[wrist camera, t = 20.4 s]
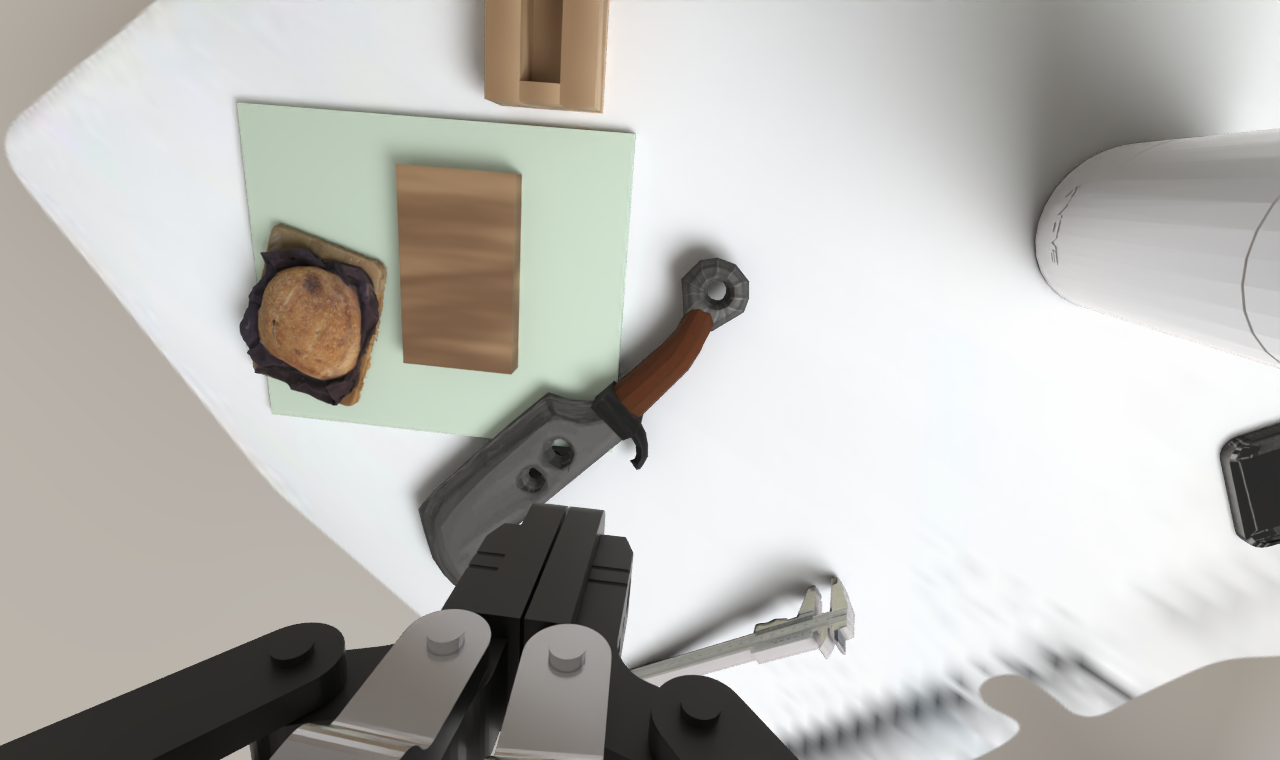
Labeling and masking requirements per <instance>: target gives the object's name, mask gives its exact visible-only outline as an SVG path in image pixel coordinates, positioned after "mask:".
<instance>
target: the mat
mask: <svg viewBox="0 0 1280 760" xmlns="http://www.w3.org/2000/svg"><path fill="white" fill-rule="evenodd" d="M237 110H238V119H239V128H240V136H241V145H242V154H243V163H244V172H245V181H246V190H247V198H248V207H249V216H250V225H251V234H252V243H253V252H254V260H255V269H256V278H257V283H258V282H259V280H260V279H261V276H262V271H263V268H264V260H263V258H262V256H261V254H260V253H261V252H265V253H266V251H267V247H268V242H269V237H270V234H271V231H272V229H273V227H274V226H276V225H278V224H279V223H283V224H284V225H285V226H289V227H291V228H294V229H298V230H300V231H301V232H302V231H303V232H305V233H308V234H311V235H312V236H313V235H314V236H316V237H319V238H321V239H324V240H326V241H327V242H330V243H332V244H335V245H339V246H343V247H344V248H345V249H349V250H351V251H353V252H357V253H359V254H362V255H364V257H368V258H371V259H376V261H377V260H379V261H381V262H382V263H384V265H385V267H387V269H386V270H387V278H386V283H385V291H384V299H383V308H382V309H383V310H382V312H381V314H382V315H381V317H380V321H381V322H380V325H379V329H377V330H378V331H379V333H378V339H377V336H375V338H374V339H377V342H376V340H375V341H374V346H372V347H373V350H372V353H371V354H370V356H371V360H370V363H371V366H370V368H369V369H368V370H367V372H366V375H365V377H367V378H364V380H363V382H364V386H363V388H362V390H361V392H360V394H361V396H360V399H359V401H358V402H357V403H355V404H354V405H352V406H344V405H341V404H338V405H337V406H333V405H331V404H328V403H325V402H323V401H320V400H318V399H316V398H314V397H312V396H310V395H308V394H305V393H302V392H297V391H294V390H291V389H290V387H289V385H288V384H287V383H285V382H282V381H280V380H277V379H274V378H271V377H269V376H268V385H269V393H270V402H271V411H272V414H276V415H285V416H294V417H303V418H312V419H321V420H330V421H339V422H348V423H357V424H366V425H374V426H383V427H392V428H401V429H410V430H419V431H428V432H437V433H446V434H455V435H464V436H473V437H482V438H491V439H493V438H494V437H495V436H496V435H497V434H498V433H500V432H501V431H502V430H503V429H504V428H505V427H506V426H507V425H509V424H510V423H511V422H512V421H513V420H515V419H516V418H517V417H518V416H520V415H521V414H522V413H523V412H524V411H526V410H527V409H528V408H529V407H531V406H532V405H533V404H534V403H535V402H537V401H538V400H539V399H540V398H542V397H543V396H544V395H545V394H546V393H548V392H550V393H553V394H556V395H559V396H562V397H564V398H567V399H572V400H586V401H594V400H595V397H596V396H597V395H598V394H599V393H601V392H602V391H603V390H604V389H605V388H606V387H608V386H609V385H610V384H611V383H612V382H613V381H615V382H616V383H618V374H619V360H620V346H621V333H622V319H623V305H624V291H625V277H626V263H627V249H628V236H629V222H630V208H631V194H632V180H633V166H634V153H635V139H636V134H631V133H619V132H606V131H593V130H581V129H568V128H555V127H542V126H530V125H517V124H504V123H492V122H479V121H466V120H453V119H441V118H428V117H415V116H403V115H390V114H377V113H364V112H352V111H339V110H326V109H314V108H301V107H288V106H275V105H263V104H250V103H237ZM396 164H406V165H418V166H429V167H441V168H452V169H464V170H476V171H487V172H499V173H510V174H522V216H521V262H520V309H519V355H518V368H517V369H516V370H515V371H514V372H513V373H512V374H511V375H510V374H501V373H492V372H482V371H473V370H464V369H454V368H445V367H436V366H426V365H417V364H408V363H403V342H402V316H401V290H400V264H399V238H398V212H397V186H396ZM553 446H562V447H570V446H569V443H567V442H566V441H564V440H563V439H557V440H555V441H554V443H553ZM612 450H613V448H612V449H610V450H609V451H608V452H612Z"/></svg>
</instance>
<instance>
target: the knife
mask: <svg viewBox="0 0 1280 760" xmlns="http://www.w3.org/2000/svg"><path fill="white" fill-rule="evenodd" d="M681 281H682V293H683V310H684V316H683V318H682V320H681V321H680V323H679V325H678V327H677V329H676V330H675V331H674V332H673V334H672V335H671V336H670V337H669V338H668V339H667V340H666V341H665V342H664V343H663V344H662V345H661V346H659V347H658V348H657V349H656V350H655V351H654V352H653V353H651V354H650V355H649V356H648V357H647V358H646V359H644V360H643V361H642V362H641V363H640V364H639V365H638V366H636V367H635V368H634V369H633V370H632V371H631V372H630V373H628V374H627V375H626V376H625V377H624V378H623V379H621V380H620V381H619V382H618V383H616V382H615V381H613V382H612V383H611V384H610V385H609V386H608V387H606V388H605V389H604V390H603V391H602V392H601V393H599V394H598V395H597V396H596V397H595V400H594V401H586V400H572V399H567V398H564V397H562V396H559V395H556V394H553V393H550V392H548V393H546V394H545V395H544V396H543V397H542V398H540V399H539V400H538V401H537V402H535V403H534V404H533V405H532V406H531V407H529V408H528V409H527V410H526V411H524V412H523V413H522V414H521V415H520V416H518V417H517V418H516V419H515V420H513V421H512V422H511V423H510V424H509V425H507V426H506V427H505V428H504V429H503V430H502V431H501V432H500V433H498V434H497V435H496V436H495V437H494V438H493V439H492V440H491V441H489V442H488V443H487V444H486V445H485V446H484V447H483V448H482V449H480V450H479V451H478V452H477V453H476V454H475V455H474V456H473V457H471V458H470V459H469V460H468V461H467V462H466V463H465V464H464V465H463V466H462V467H460V468H459V469H458V470H457V471H456V472H455V473H454V474H453V475H452V476H450V477H449V478H448V479H447V480H446V481H445V482H444V483H443V484H441V485H440V486H439V487H438V488H437V489H436V490H435V491H434V492H433V493H432V494H431V495H430V496H429V497H428V499H427V500H426V501H425V502H424V503H423V504H422V506H421V507H420V508H419V513H420V517H421V521H422V525H423V528H424V532H425V535H426V539H427V542H428V545H429V548H430V551H431V555H432V558H433V560H434V561H435V562H436V564H437V565H438V567H439V568H440V570H441V571H442V573H443V574H444V575H445V576H446V577H447V578H448V579H449V580H450V582H451V583H452V584H453V585H455V586H456V585H457V583H458V582H459V580H460V578H461V577H462V575H463V573H464V572H465V570H466V568H467V567H469V564H470V562H471V560H472V559H473V557H474V555H475V554H477V550H478V549H479V547H480V546H481V544H482V542H483V541H484V539H485V537H486V536H487V535H488V534H489V533H491V532H492V531H494V530H495V529H497V528H498V527H500V526H501V525H503V524H504V523H510V524H520V523H521V522H522V521H523V520H524V519H525V517H526V515H527V513H528V511H529V509H530V507H531V505H532V504H533V503H534V502H536V503H545V502H547V501H548V500H549V499H550V498H552V497H553V496H554V495H555V494H556V493H558V492H559V491H560V490H561V489H563V488H564V487H565V486H566V485H567V484H569V483H570V482H571V481H572V480H574V479H575V478H576V477H577V476H578V475H580V474H581V473H582V472H583V471H585V470H586V469H587V468H588V467H590V466H591V465H592V464H593V463H594V462H596V461H597V460H598V459H599V458H601V457H602V456H603V455H604V454H605V453H607V452H608V451H609V450H610V449H612V448H613V447H614V446H615V445H617V444H618V443H619V442H620V441H621V440H622V441H623V440H625V439H628V438H632V439H633V441H634V443H635V445H636V453H637V454H636V457H635V459H633V460H630V461H631V463H632V464H633V466H634V467H635V468H636V470H638V469H641V467H642V466H643V464H644V463H645V461H646V459H647V457H648V443H647V437H646V432H645V430H644V428H643V426H642V424H641V422H642V417H643V414H644V413H645V412H646V411H647V410H648V409H649V408H650V407H651V406H652V405H653V404H654V403H655V402H656V401H657V400H658V399H659V398H660V397H661V396H662V395H663V394H664V393H665V392H666V391H667V390H668V389H669V388H671V387H672V386H673V385H674V384H675V383H676V382H677V381H678V380H679V379H680V378H681V377H682V376H683V375H684V374H685V373H686V372H687V371H688V370H689V368H690V367H691V365H692V364H693V362H694V361H695V359H696V357H697V356H698V354H699V353H700V351H701V349H702V347H703V344H704V342H705V340H706V338H707V336H708V335H709V333H710V331H713V330H715V329H716V328H718V327H720V326H722V325H723V324H725V323H727V322H728V321H730V320H732V319H733V318H735V317H737V316H738V315H740V314H742V313H743V312H744V310H745V308H746V305H747V302H748V300H749V281H748V279H747V278H746V277H745V276H744V274H743V273H742V272H741V271H740V269H739V268H738V267H737V265H736V264H733V263H730V262H727V261H725V260H722V259H719V258H713V259H706V260H700V261H699V262H698V263H697V264H696V265H695V266H694V267H693V268H692V269H691V270H690V271H689V272H688V273H687V274H686V275H685V276H684V277H683V278H682V279H681ZM713 281H721V282H723V283H724V284H725V286H726V294H725V296H724V298H723V299H721V300H714V299H711V298H710V297H709V296H708V295H707V285H708V284H709V283H710V282H713ZM557 439H563V440H564V441H566V442H567V443H569V446H570V451H569V453H568V454H566V455H564V456H562V455H561V454H559V453H558V452H556V451H554V450H553V448H552V445H553V443H554V441H555V440H557ZM533 467H534V468H535V469H536V470H538V471H539V472H540V473H541V474H542V476H541V478H539V479H534V478H532V477H531V476H530V475H529V471H530V469H531V468H533Z"/></svg>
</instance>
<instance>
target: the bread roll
mask: <svg viewBox="0 0 1280 760" xmlns="http://www.w3.org/2000/svg"><path fill="white" fill-rule="evenodd" d="M260 254H261V256H262V258H263V260H264V268H263V271H262V276H261V279H260V280H259V282H258V283H257V284H256V285H255V286H254V287H253V289H252V291H251V293H250V295H249V307H248V308H247V310H246V312H245V314H244V318H243V320H242V321H241V323H240V333H241V335H242V337H243V340H244V341H245V342H246V344H247V346H248V347H249V351H248V352H247V353H248V354H249V355H250V357H251V359H252V360H253V368H254V369H255V373H259V374H263V375H266V376H269V377H271V378H274V379H277V380H280V381H282V382H285V383H287V384H288V385H289V387H290V389H291V390H294V391H297V392H302V393H305V394H308V395H310V396H312V397H314V398H316V399H318V400H320V401H323V402H325V403H328V404H331V405H333V406H337V405H338V404H341V405H344V406H352V405H354V404H355V403H357V402H358V401H359V399H360V396H361V394H360V392H361V390H362V388H363V386H364V382H363V380H364V378H367V377H365V375H366V372H367V370H368V369H369V368H370V366H371V363H370V360H371V356H370V354H371V353H372V350H373V347H372V346H374V341H375V340H376V342H377V339H378V333H379V331H378V330H377V329H379V325H380V322H381V321H380V317H381V315H382V314H381V312H382V310H383V309H382V308H383V299H384V291H385V283H386V278H387V270H386V269H387V267H385V265H384V263H382V262H381V261H379V260H377V261H376V259H371V258H368V257H364V255H362V254H359V253H357V252H353V251H351V250H349V249H345V248H344V247H343V246H339V245H335V244H332V243H330V242H327V241H326V240H324V239H321V238H319V237H316V236H314V235H313V236H312V235H311V234H308V233H305V232H303V231H302V232H301V231H300V230H298V229H294V228H291V227H289V226H285V225H284V224H283V223H279V224H278V225H276V226H274V227H273V229H272V231H271V234H270V237H269V242H268V247H267V251H266V253H265V252H261V253H260ZM375 336H377V339H374V338H375Z"/></svg>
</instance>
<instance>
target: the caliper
mask: <svg viewBox="0 0 1280 760" xmlns="http://www.w3.org/2000/svg"><path fill="white" fill-rule="evenodd" d="M854 617H855V614H854V611H853V608H852V606H851V603H850V600H849V597H848V594H847V592H846V590H845V588H844V586H843V584H842V583H841V581H840V580H839V578H831V601H830V612H826V613H822V601H821V594H820V593H819V591H818V590H817V588H816V586H813V587H810V588H808V590H807V593H806V595H805V598H804V600H803V603H802V605H801V608H800V610H799V613H798V615H797V617H795V618H792V619H789V620H788V619H787V618H784V619H774V620H771V621H770V622H767V623H759V624H757V625H755V629H754V633H753V634H750V635H746V636H743V637H740V638H736V639H733V640H730V641H726V642H723V643H719V644H716V645H713V646H709V647H706V648H703V649H699V650H696V651H693V652H689V653H686V654H682V655H679V656H675V657H672V658H669V659H665V660H662V661H658V662H655V663H651V664H648V665H644V666H641V667H637V668H634V669H631V670H630V671H631V672H632V673H633V674H635V675H636V676H638V677H639V678H641V679H643V680H645V681H647V682H649V683H651V684H653V685H656V686H658V687H660V686H661V685H663V684H664V683H665V682H667V681H669V680H670V679H673V678H675V677H678V676H683V675H704V674H708V673H711V672H715V671H718V670H722V669H726V668H729V667H733V666H737V665H740V664H744V663H748V662H751V661H755V660H756V661H757V662H758V664H761V663H765V662H769V661H773V660H777V659H781V658H785V657H789V656H793V655H796V654H800V653H804V652H808V651H812V650H816V649H818V648H819V649H820V651H821V652H822V654H823V655H824V657H825V659H828V658H829V656H830V654H831V652H832V651H833V649H834V645H835V644H836V646H837V647H838V649H839V650H840V652H841V653H842V654H844V655H845V640H849V639H852V638H854Z"/></svg>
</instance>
